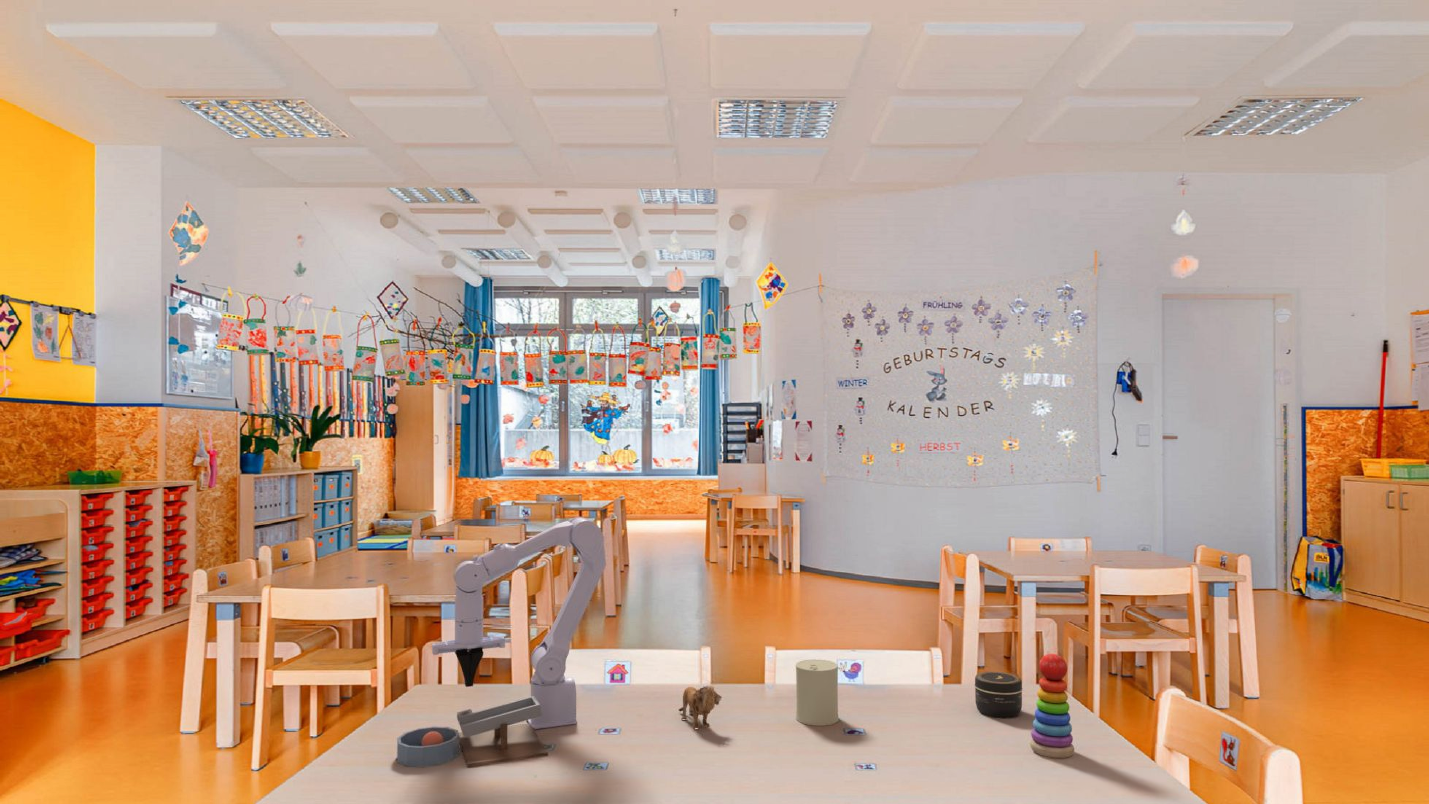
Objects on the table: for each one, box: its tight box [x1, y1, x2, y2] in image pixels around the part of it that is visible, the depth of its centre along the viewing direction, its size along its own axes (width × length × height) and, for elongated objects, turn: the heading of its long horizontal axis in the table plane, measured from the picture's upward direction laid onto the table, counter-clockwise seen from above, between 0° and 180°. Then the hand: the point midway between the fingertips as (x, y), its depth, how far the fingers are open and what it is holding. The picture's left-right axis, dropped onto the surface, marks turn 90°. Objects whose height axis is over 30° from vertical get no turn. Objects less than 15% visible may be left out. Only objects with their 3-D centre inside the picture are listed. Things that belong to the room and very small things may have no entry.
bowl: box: [396, 726, 460, 768], centre depth 167 cm, size 11×11×4 cm
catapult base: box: [458, 722, 549, 768], centre depth 172 cm, size 15×18×5 cm
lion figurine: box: [678, 685, 723, 729], centre depth 186 cm, size 15×5×9 cm, turn 32°
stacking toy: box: [1029, 653, 1075, 759], centre depth 168 cm, size 8×8×19 cm
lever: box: [456, 695, 542, 738], centre depth 175 cm, size 15×12×2 cm
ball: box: [422, 731, 443, 746], centre depth 167 cm, size 4×4×4 cm
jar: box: [974, 671, 1023, 719], centre depth 192 cm, size 10×10×8 cm
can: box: [795, 659, 840, 727], centre depth 188 cm, size 9×9×12 cm
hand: (468, 685), depth 181 cm, fingers closed
